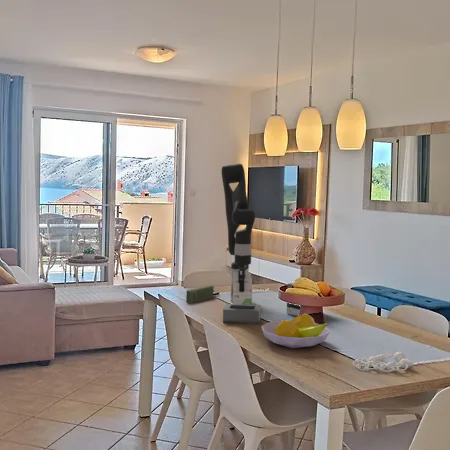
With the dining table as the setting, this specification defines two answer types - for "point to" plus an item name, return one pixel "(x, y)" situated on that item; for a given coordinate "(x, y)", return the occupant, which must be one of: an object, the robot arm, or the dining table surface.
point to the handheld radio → (200, 294)
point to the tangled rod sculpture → (380, 359)
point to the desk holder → (242, 314)
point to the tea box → (293, 306)
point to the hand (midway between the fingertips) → (242, 290)
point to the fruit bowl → (296, 332)
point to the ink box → (247, 294)
